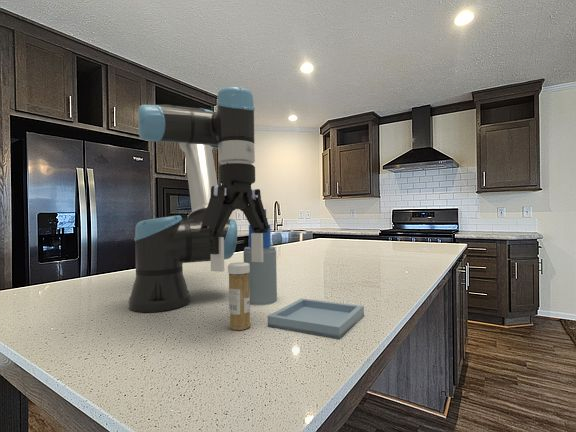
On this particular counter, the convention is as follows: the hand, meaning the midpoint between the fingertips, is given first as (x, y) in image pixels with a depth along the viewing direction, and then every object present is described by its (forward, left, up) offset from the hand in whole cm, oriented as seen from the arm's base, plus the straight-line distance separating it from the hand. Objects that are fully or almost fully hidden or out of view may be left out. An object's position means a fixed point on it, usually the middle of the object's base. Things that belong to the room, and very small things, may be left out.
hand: (239, 266), depth 71 cm
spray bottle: (-8, +20, -13) cm, 25 cm away
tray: (+13, +11, -13) cm, 21 cm away
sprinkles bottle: (0, 0, -13) cm, 13 cm away
